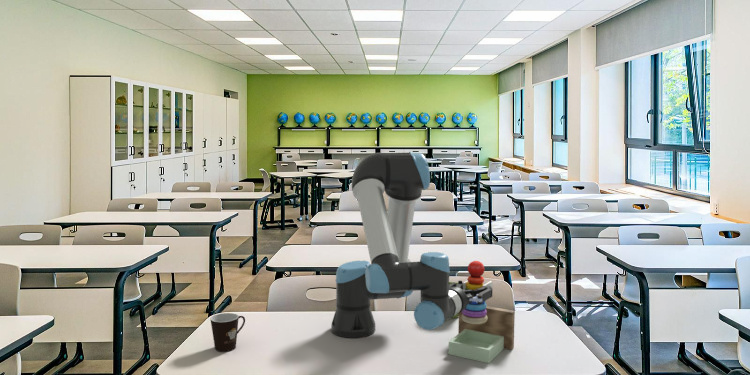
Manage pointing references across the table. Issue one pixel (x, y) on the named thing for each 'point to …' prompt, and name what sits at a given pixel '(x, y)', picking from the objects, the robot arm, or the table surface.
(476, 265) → the stacking toy
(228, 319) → the coffee mug
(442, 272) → the robot arm
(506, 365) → the table surface
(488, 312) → the backstop wall
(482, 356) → the mint green square tray
